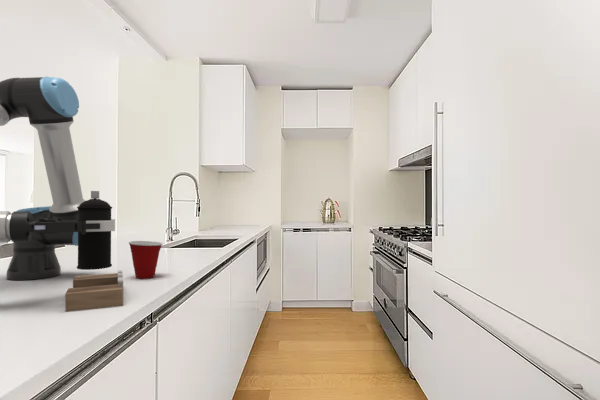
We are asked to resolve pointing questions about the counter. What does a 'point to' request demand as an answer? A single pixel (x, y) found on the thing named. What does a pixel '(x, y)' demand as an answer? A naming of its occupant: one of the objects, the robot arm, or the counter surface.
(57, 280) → the counter surface
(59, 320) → the counter surface
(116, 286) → the cutout stand
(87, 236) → the aerosol can
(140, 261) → the plastic cup
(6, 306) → the counter surface
